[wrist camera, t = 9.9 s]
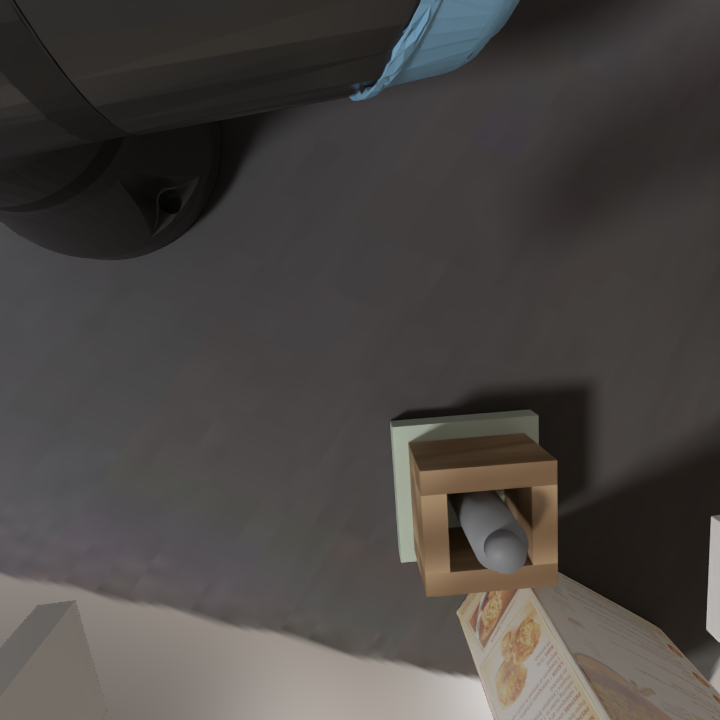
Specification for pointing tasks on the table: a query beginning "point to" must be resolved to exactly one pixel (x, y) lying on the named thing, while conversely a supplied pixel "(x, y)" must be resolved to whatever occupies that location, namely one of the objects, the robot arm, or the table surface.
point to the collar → (482, 473)
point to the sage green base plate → (469, 509)
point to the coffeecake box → (578, 659)
